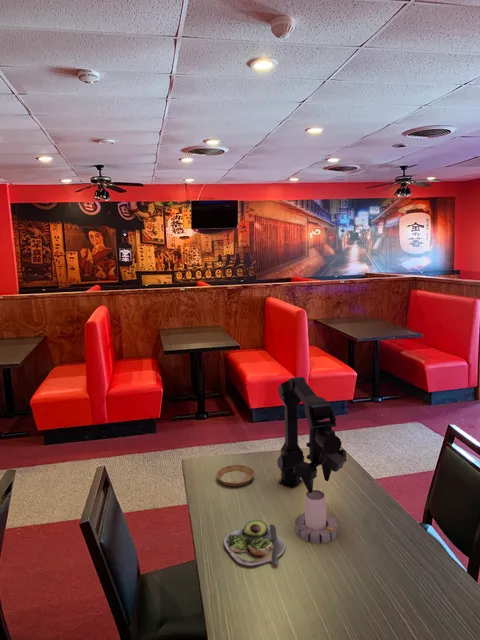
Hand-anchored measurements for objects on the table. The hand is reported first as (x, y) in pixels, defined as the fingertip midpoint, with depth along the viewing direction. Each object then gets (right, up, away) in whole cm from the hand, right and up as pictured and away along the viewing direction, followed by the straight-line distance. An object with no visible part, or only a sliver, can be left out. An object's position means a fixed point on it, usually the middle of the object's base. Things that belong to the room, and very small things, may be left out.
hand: (318, 486), depth 148 cm
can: (-1, -13, -2) cm, 13 cm away
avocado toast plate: (-21, -15, -8) cm, 27 cm away
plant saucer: (-27, -9, +32) cm, 43 cm away
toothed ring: (-1, -13, -2) cm, 13 cm away
